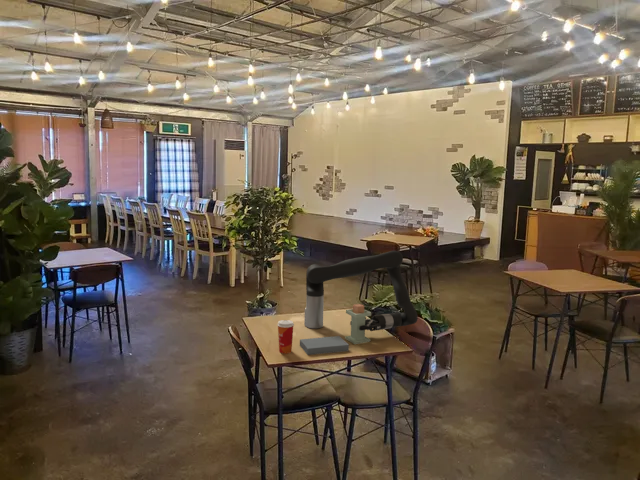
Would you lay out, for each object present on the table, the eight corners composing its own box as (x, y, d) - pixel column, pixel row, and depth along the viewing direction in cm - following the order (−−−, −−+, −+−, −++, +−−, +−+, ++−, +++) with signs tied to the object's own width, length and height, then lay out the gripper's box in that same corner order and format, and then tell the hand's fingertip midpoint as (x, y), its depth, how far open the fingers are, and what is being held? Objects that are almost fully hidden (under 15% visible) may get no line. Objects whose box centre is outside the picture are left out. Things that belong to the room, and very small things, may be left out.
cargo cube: (352, 312, 249) (353, 304, 248) (359, 311, 251) (359, 303, 250) (357, 314, 245) (357, 306, 245) (364, 313, 247) (364, 305, 247)
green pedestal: (345, 338, 252) (345, 309, 250) (360, 336, 256) (361, 307, 254) (354, 344, 244) (355, 314, 242) (370, 341, 248) (371, 312, 246)
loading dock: (307, 355, 228) (307, 348, 228) (299, 345, 241) (299, 339, 240) (348, 350, 235) (348, 344, 234) (339, 341, 247) (339, 335, 247)
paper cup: (276, 348, 236) (277, 319, 234) (293, 348, 236) (293, 319, 235) (276, 354, 228) (277, 324, 226) (293, 354, 229) (294, 324, 227)
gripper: (374, 311, 262) (347, 314, 254) (391, 318, 249) (363, 322, 242) (374, 325, 263) (347, 329, 255) (390, 333, 250) (362, 337, 243)
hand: (355, 325), depth 248 cm, fingers open, 8 cm apart
